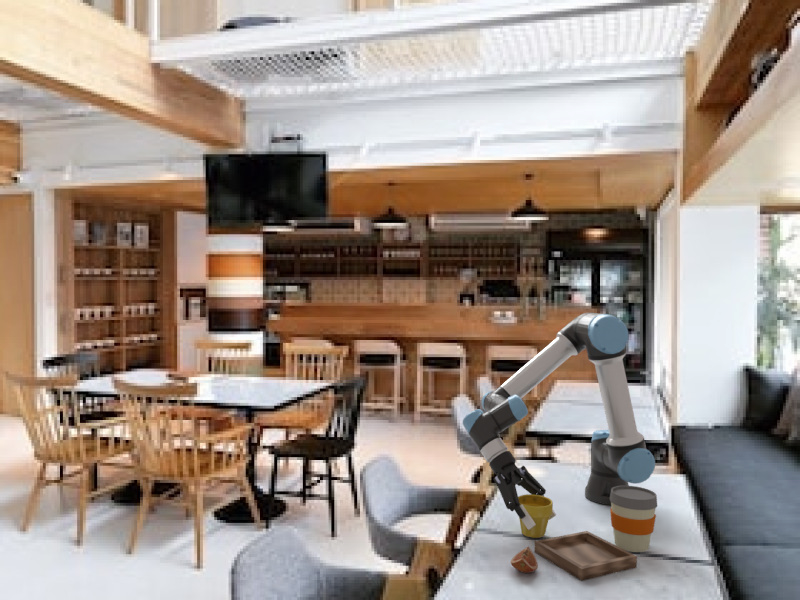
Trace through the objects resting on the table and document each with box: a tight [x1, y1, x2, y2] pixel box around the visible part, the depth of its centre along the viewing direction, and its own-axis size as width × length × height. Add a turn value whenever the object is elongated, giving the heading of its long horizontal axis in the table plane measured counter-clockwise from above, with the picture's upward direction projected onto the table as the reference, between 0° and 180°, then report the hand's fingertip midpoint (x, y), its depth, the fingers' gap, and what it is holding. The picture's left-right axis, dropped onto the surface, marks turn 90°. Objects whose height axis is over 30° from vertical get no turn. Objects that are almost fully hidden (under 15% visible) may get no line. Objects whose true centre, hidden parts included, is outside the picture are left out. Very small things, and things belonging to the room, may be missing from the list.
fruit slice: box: [510, 546, 539, 574], centre depth 166 cm, size 8×7×5 cm
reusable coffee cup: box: [609, 485, 658, 553], centre depth 184 cm, size 13×13×15 cm
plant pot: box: [518, 493, 554, 539], centre depth 189 cm, size 10×10×10 cm
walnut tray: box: [534, 530, 638, 582], centre depth 173 cm, size 18×18×3 cm
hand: (542, 522), depth 187 cm, fingers closed on plant pot, 10 cm apart
